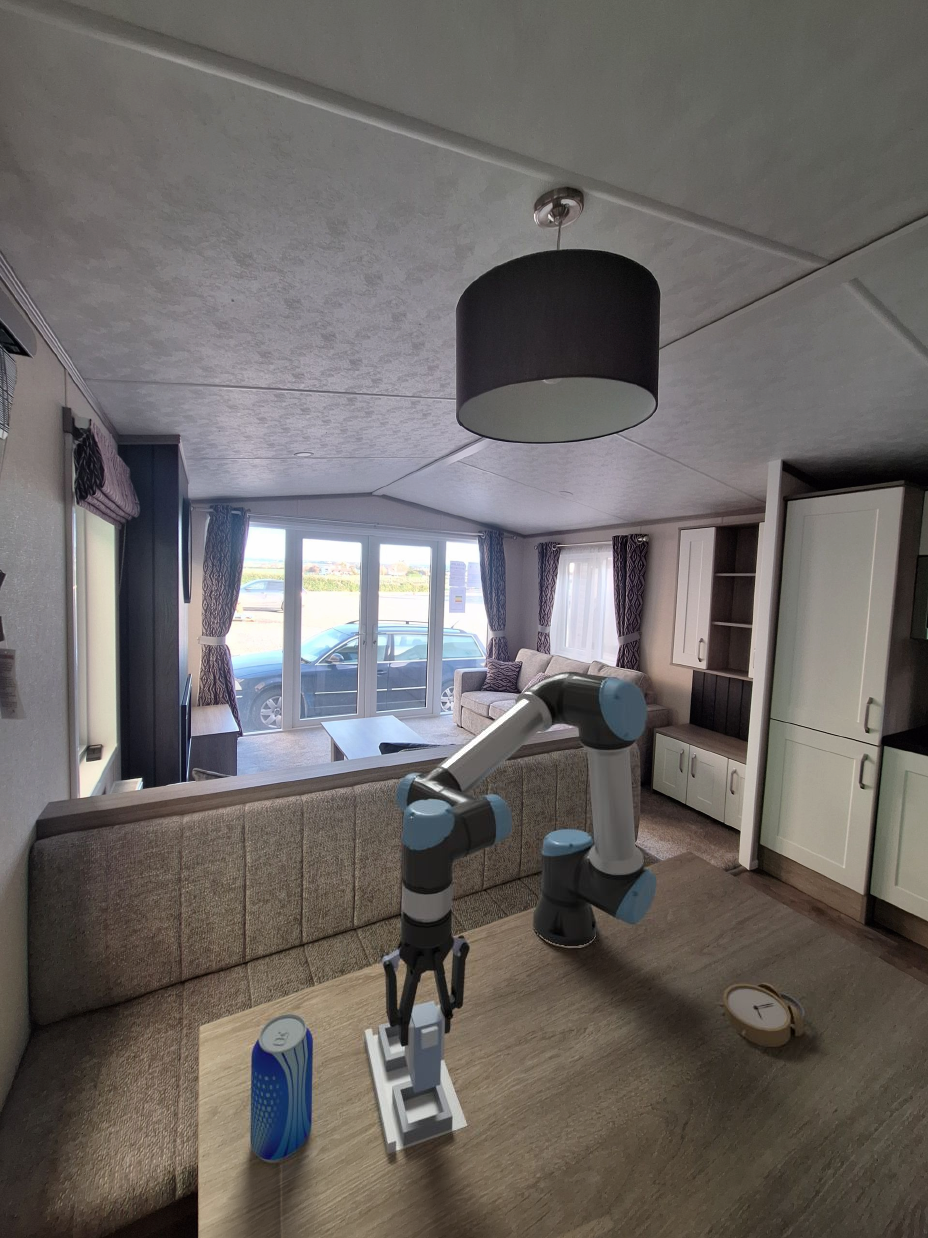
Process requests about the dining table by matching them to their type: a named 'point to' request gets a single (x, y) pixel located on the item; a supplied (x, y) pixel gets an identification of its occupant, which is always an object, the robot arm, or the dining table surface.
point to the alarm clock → (762, 1013)
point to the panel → (408, 1095)
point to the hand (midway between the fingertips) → (424, 1057)
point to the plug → (426, 1047)
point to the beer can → (281, 1088)
